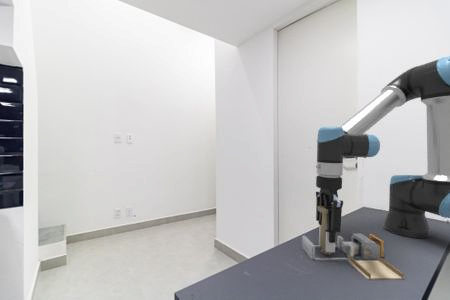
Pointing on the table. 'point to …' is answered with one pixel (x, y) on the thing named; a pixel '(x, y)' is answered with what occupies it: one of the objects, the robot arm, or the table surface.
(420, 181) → the robot arm
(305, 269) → the table surface
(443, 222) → the table surface
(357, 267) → the tan base plate
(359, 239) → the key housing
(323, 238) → the handle
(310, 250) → the silver rectangular frame
